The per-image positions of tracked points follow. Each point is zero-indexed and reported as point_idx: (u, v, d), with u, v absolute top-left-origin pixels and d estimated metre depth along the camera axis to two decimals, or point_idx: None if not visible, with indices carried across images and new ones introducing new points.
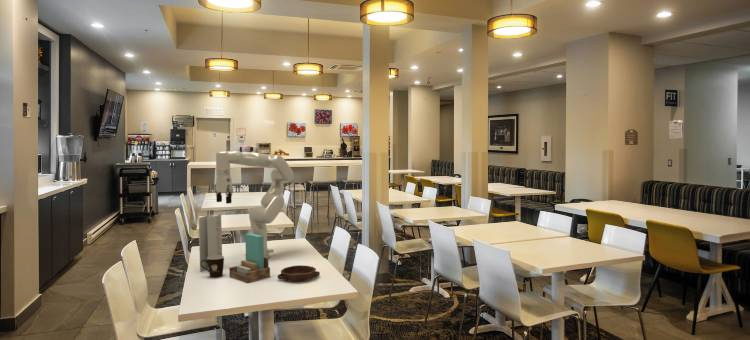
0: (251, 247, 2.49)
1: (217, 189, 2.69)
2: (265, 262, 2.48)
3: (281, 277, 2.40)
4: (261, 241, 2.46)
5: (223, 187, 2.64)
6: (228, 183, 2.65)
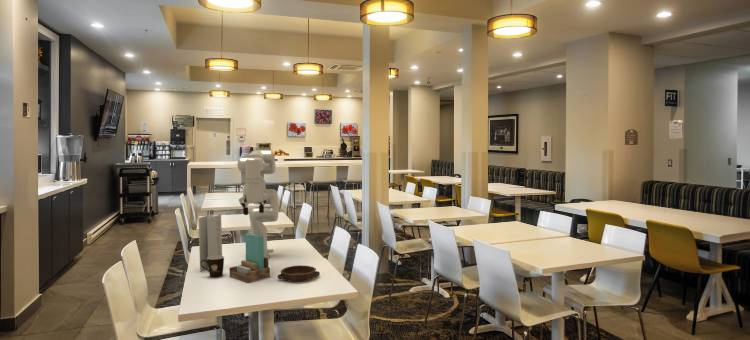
0: (251, 247, 2.49)
1: (251, 200, 2.44)
2: (265, 262, 2.48)
3: (281, 277, 2.40)
4: (261, 241, 2.46)
5: (261, 196, 2.49)
6: None
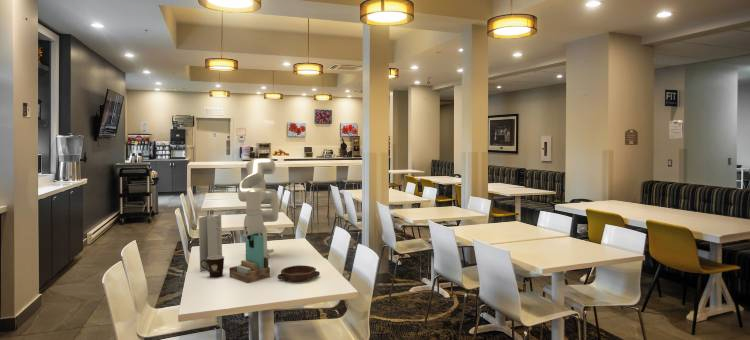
0: None
1: (251, 231, 2.45)
2: (265, 262, 2.48)
3: (281, 277, 2.40)
4: (261, 241, 2.46)
5: (261, 227, 2.50)
6: None
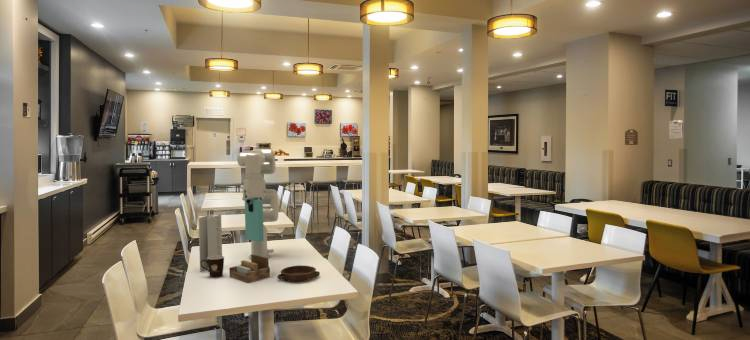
0: (251, 212, 2.48)
1: (251, 195, 2.45)
2: (265, 262, 2.48)
3: (281, 277, 2.40)
4: (260, 205, 2.45)
5: (261, 191, 2.49)
6: None
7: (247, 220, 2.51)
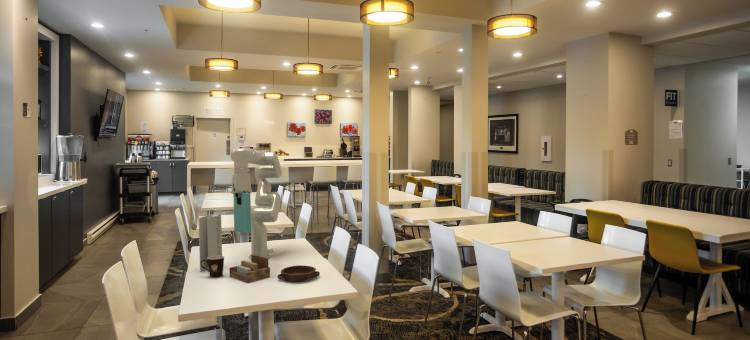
0: None
1: (239, 189, 2.56)
2: (265, 262, 2.48)
3: (281, 277, 2.40)
4: (248, 198, 2.56)
5: (249, 185, 2.61)
6: None
7: (236, 213, 2.62)
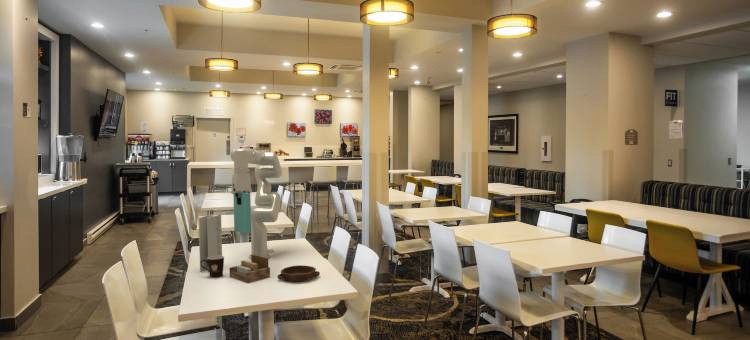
0: None
1: (239, 189, 2.56)
2: (265, 262, 2.48)
3: (281, 277, 2.40)
4: (248, 198, 2.56)
5: (249, 185, 2.61)
6: None
7: (236, 213, 2.62)
